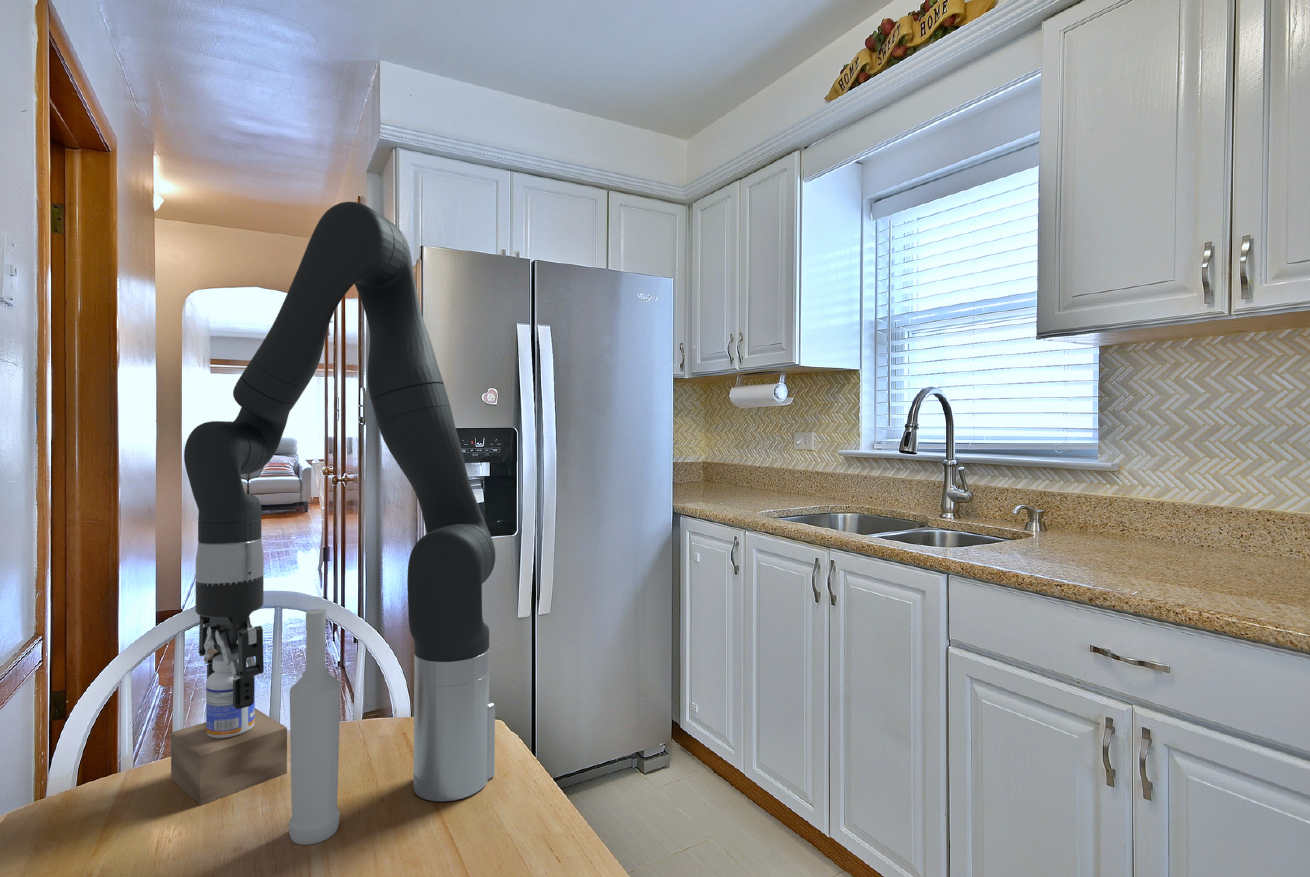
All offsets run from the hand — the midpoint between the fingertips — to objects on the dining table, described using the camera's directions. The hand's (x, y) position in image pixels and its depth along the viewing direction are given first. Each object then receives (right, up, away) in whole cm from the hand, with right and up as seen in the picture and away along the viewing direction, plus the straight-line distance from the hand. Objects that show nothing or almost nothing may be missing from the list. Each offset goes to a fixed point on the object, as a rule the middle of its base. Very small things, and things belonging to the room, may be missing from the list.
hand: (229, 698), depth 89 cm
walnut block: (0, -10, 0) cm, 10 cm away
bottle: (+17, -11, -12) cm, 23 cm away
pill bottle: (0, -4, 0) cm, 4 cm away
